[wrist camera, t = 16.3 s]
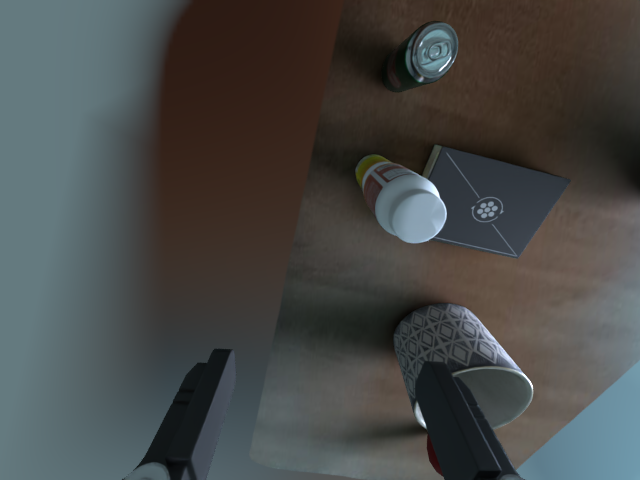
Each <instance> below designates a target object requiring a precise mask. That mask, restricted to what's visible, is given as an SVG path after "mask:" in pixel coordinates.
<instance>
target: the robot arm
mask: <svg viewBox="0 0 640 480" xmlns="http://www.w3.org/2000/svg"><path fill="white" fill-rule="evenodd" d="M235 381H236V366H235V355H234V350H230V349H214V350H213V352H212V353H211V356H210V358H209V360H208V363H197V364H196V365H195V366H194V367H193V368H192V369H191V371H190V372H189V373H188V374H187V375H186V377H185V379H184V381H183V383H182V384H181V386H180V389H179V392H177V394H176V396H175V399H174V400H173V404H172V405H171V406H170V408H169V410H168V412H167V414H166V416H165V418H164V420H163V422H162V424H161V426H160V428H159V430H158V432H157V434H156V436H155V438H154V440H153V442H152V444H151V446H150V447H149V449H148V451H147V453H146V455H145V457H144V458H143V460H142V461H141V462H140V464H139V465H138V466H137V467H136V468H135V469H134V470H133V472H131V473H130V474H129V475H128V476H127V477H126V478H124V479H122V480H206V478H207V475H208V472H209V468H210V465H211V462H212V459H213V456H214V452H215V449H216V445H217V442H218V439H219V436H220V433H221V429H222V426H223V423H224V420H225V416H226V413H227V410H228V407H229V403H230V400H231V397H232V394H233V390H234V386H235ZM415 395H416V399H417V402H418V405H419V408H420V411H421V413H422V416H423V419H424V422H425V425H426V428H427V431H428V433H429V436H430V439H431V442H432V445H433V448H434V451H435V453H436V456H437V459H438V462H439V465H440V468H441V471H442V473H443V476H444V479H445V480H525V479H523V478H521V477H520V476H519V474H518V473H517V472H516V470H515V468H514V467H513V465H512V463H511V461H510V460H509V458H508V456H507V454H506V452H505V451H504V449H503V447H502V445H501V443H500V442H499V440H498V438H497V436H496V435H495V433H494V431H493V429H492V427H491V426H490V424H489V422H488V420H487V419H486V418H485V415H484V413H483V411H482V409H481V408H480V407H479V406H478V402H477V401H476V399H475V397H474V395H473V393H472V392H471V390H470V389H469V388H468V386H467V385H466V384H465V383H464V382H463V381H462V380H461V379H460V378H459V377H453V375H452V373H451V371H450V369H449V367H448V366H447V364H446V363H444V362H437V361H425V362H424V363H423V366H422V368H421V370H420V373H419V375H418V378H417V380H416V383H415Z"/></svg>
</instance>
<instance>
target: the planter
mask: <svg viewBox="0 0 640 480" xmlns="http://www.w3.org/2000/svg"><path fill="white" fill-rule="evenodd" d="M393 344H394V348H395V352H396V355H397V358H398V362H399V365H400V368H401V372H402V375H403V379H404V382H405V385H406V389H407V392H408V395H409V399H410V402H411V406H412V409H413V412H414V416H415V418H416V420H417V422H418V423H419V424H420V425H421V426H422V427H424V428H425V429H427V428H426V425H425V422H424V419H423V416H422V413H421V411H420V408H419V405H418V402H417V399H416V395H415V383H416V380H417V378H418V375H419V373H420V370H421V368H422V366H423V363H424V362H425V361H437V362H444V363H446V364H447V366H448V367H449V369H450V371H451V373H452V375H453V377H459V378H460V379H461V380H462V381H463V382H464V383H465V384H466V385H467V386H468V388H469V389H470V390H471V392H472V393H473V395H474V397H475V399H476V401H477V402H478V406H479V407H480V408H481V409H482V411H483V413H484V415H485V418H486V419H487V420H488V422H489V424H490V426H491V427H492V429H493V430H494V429H496V428H499V427H501V426H503V425H505V424H507V423H509V422H511V421H512V420H514V419H515V418H517V417H518V416H519V415H520V414H521V413H522V412H523V411H524V410H525V409H526V408H527V407H528V405H529V404H530V402H531V400H532V396H533V387H532V384H531V382H530V380H529V379H528V378H527V377H526V376H525V374H524V373H523V372H522V371H521V370H520V368H519V367H518V366H517V365H516V364H515V363H514V361H513V360H512V359H511V358H510V357H509V355H508V354H507V353H506V352H505V351H504V349H503V348H502V347H501V346H500V345H499V343H498V342H497V341H496V340H495V339H494V337H493V336H492V335H491V334H490V333H489V331H488V330H487V329H486V328H485V327H484V326H483V324H482V323H481V322H480V321H479V320H478V318H477V317H476V316H475V315H474V314H473V313H472V312H471V311H470V310H468V309H467V308H465V307H462V306H460V305H456V304H451V303H437V304H431V305H427V306H424V307H421V308H419V309H417V310H415V311H413V312H412V313H410V314H409V315H407V316H406V317H405V318H404V319H403V320H402V321H401V322H400V323H399V325H398V326H397V328H396V330H395V333H394V337H393Z"/></svg>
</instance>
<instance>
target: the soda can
mask: <svg viewBox="0 0 640 480" xmlns="http://www.w3.org/2000/svg"><path fill="white" fill-rule="evenodd" d="M457 51H458V39H457V35H456V33H455V31H454V29H453V28H452V27H451V26H450V25H448V24H446V23H443V22H440V21H431V22H428V23H425V24H424V25H422V26H421V27H419V28H418V29H417V30H416V31H415V32H413V33H412V34H411V35H410V36H409V37H408V38H407V39H405V40H404V41H403V42H402V43H401V44H400V45H399V46H397V47H396V48H395V49H394V50H393V51H392V52H391V53H390V54H389V55H388V56H387V57H386V59H385V60H384V62H383V65H382V70H381V77H382V81H383V83H384V85H385V87H386V88H387V89H389V90H390V91H392V92H402V91H406V90H409V89H413V88H416V87H419V86H423V85H426V84H430V83H433V82H435V81H437V80H439V79H440V78H442V77H443V76H444V75H445V74H446V73H447V72H448V71H449V69H450V68H451V66H452V64H453V62H454V60H455V58H456V55H457Z"/></svg>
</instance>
